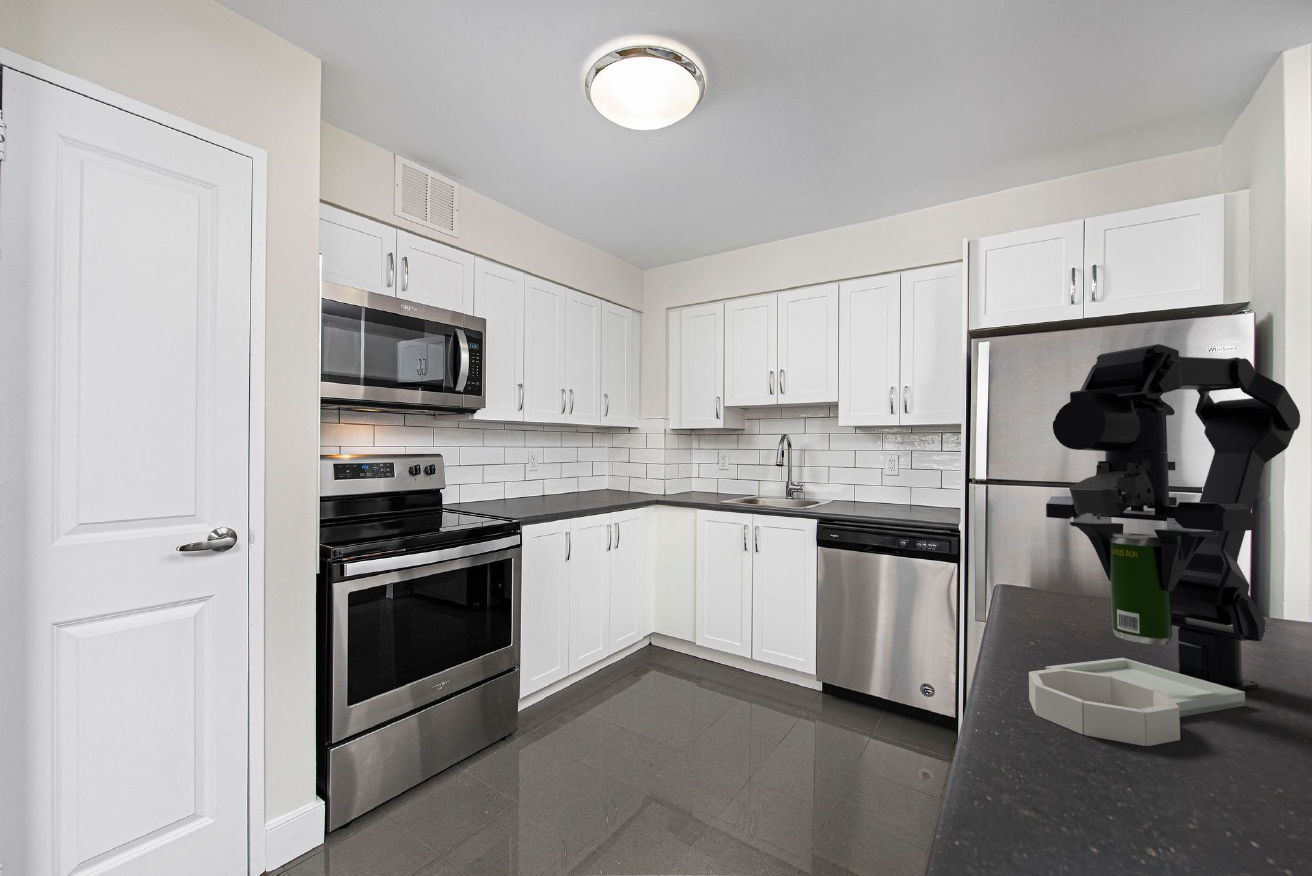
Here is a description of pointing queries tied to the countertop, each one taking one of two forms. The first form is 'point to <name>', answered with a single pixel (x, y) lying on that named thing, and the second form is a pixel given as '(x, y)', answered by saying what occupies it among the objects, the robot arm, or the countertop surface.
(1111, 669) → the tray
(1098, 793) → the countertop surface
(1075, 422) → the robot arm
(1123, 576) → the beer can
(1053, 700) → the cup
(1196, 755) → the countertop surface
